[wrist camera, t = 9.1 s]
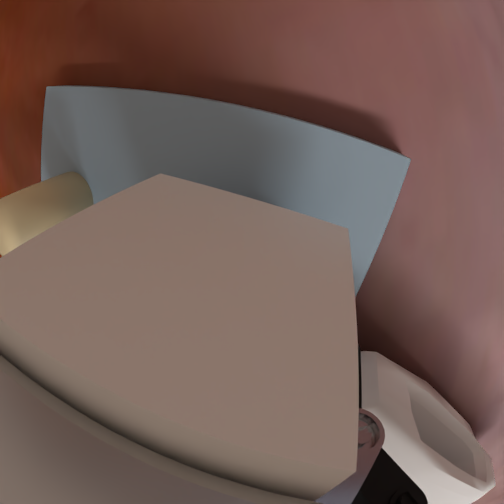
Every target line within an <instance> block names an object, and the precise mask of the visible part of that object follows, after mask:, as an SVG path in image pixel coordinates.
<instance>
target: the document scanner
mask: <svg viewBox="0 0 504 504" xmlns="http://www.w3.org/2000/svg"><path fill="white" fill-rule="evenodd" d="M361 377H362V409H365V410H367V411H369V412H371V413H372V414H374V415H375V416H376V417H377V418H378V419H379V420H380V421H381V423H382V425H383V427H384V430H385V440H384V443H383V446H382V448H383V449H384V450H385V451H386V453H387V454H388V455H389V456H390V457H391V458H392V459H393V460H394V461H395V462H396V463H397V464H398V465H399V467H400V468H401V469H402V470H403V471H404V472H405V473H406V474H407V475H408V476H409V477H410V478H411V479H412V480H413V481H414V482H415V483H416V485H417V486H418V487H419V488H420V489H421V490H422V491H423V493H424V494H425V495H426V498H427V501H428V504H471V503H472V502H474V501H476V500H477V499H479V498H481V497H482V496H483V495H484V494H486V493H487V492H488V491H489V490H491V489H492V488H493V487H494V486H495V485H496V484H495V477H494V470H493V464H492V458H491V457H490V456H489V455H488V454H487V453H486V451H485V450H484V449H483V448H482V447H481V445H480V444H479V442H478V441H477V440H476V438H475V437H474V434H473V432H472V429H471V427H470V424H469V423H468V422H467V421H466V420H465V419H464V418H463V417H462V416H461V415H460V414H459V413H458V412H457V411H456V410H455V409H454V408H453V407H452V406H451V405H450V404H449V403H448V402H447V401H446V400H445V399H444V398H443V397H442V396H441V395H440V394H439V393H438V392H437V391H436V390H435V389H434V388H433V387H432V386H431V385H430V384H429V383H428V382H426V381H425V380H423V379H421V378H420V377H418V376H416V375H415V374H413V373H411V372H409V371H408V370H406V369H404V368H403V367H401V366H399V365H398V364H396V363H394V362H393V361H391V360H389V359H388V358H386V357H384V356H383V355H381V354H379V353H378V352H372V351H361Z"/></svg>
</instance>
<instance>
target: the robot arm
mask: <svg viewBox="0 0 504 504" xmlns="http://www.w3.org/2000/svg"><path fill="white" fill-rule="evenodd" d="M358 369H359V419H358V448H357V466H356V472H355V473H353V474H352V475H351V476H349V477H348V478H347V479H345V480H344V481H343V482H341V483H340V484H339V485H337V486H336V487H334V488H333V489H332V490H330V491H329V492H327V493H326V494H324V495H323V496H321V497H320V498H318V499H317V500H315V501H314V502H313V501H309V500H304V499H299V498H294V497H289V496H285V495H281V494H276V493H272V492H268V491H265V490H261V489H257V488H254V487H250V486H247V485H243V484H240V483H236V482H233V481H230V480H227V479H224V478H220V477H217V476H214V475H212V474H209V473H206V472H203V471H200V470H198V469H195V468H192V467H190V466H187V465H184V464H182V463H179V462H177V461H175V460H172V459H170V458H167V457H165V456H163V455H160V454H158V453H156V452H154V451H152V450H149V449H147V448H145V447H143V446H141V445H139V444H137V443H135V442H133V441H131V440H129V439H127V438H125V437H123V436H121V435H119V434H117V433H115V432H113V431H111V430H109V429H108V428H106V427H104V426H102V425H100V424H99V423H97V422H95V421H94V420H92V419H90V418H88V417H87V416H85V415H83V414H82V413H80V412H78V411H77V410H75V409H74V408H72V407H71V406H69V405H67V404H66V403H64V402H63V401H61V400H60V399H58V398H57V397H55V396H54V395H52V394H51V393H50V392H48V391H47V390H45V389H44V388H42V387H41V386H40V385H38V384H37V383H36V382H34V381H33V380H31V379H30V378H29V377H27V376H26V375H25V374H24V373H22V372H21V371H20V370H18V369H17V368H16V367H15V366H13V365H12V364H11V363H10V362H9V361H7V360H6V359H5V358H4V357H3V356H1V355H0V504H428V501H427V498H426V495H425V494H424V493H423V491H422V490H421V489H420V488H419V487H418V486H417V485H416V483H415V482H414V481H413V480H412V479H411V478H410V477H409V476H408V475H407V474H406V473H405V472H404V471H403V470H402V469H401V468H400V467H399V465H398V464H397V463H396V462H395V461H394V460H393V459H392V458H391V457H390V456H389V455H388V454H387V453H386V451H385V450H384V449H383V448H382V446H383V443H384V440H385V430H384V427H383V425H382V423H381V421H380V420H379V419H378V418H377V417H376V416H375V415H374V414H372V413H371V412H369V411H367V410H365V409H362V377H361V349H360V346H359V345H358Z"/></svg>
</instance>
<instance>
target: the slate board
mask: <svg viewBox="0 0 504 504" xmlns="http://www.w3.org/2000/svg"><path fill="white" fill-rule="evenodd" d="M410 161H411V159H410V158H408V157H406V156H405V155H403V154H401V153H398V152H396V151H393V150H391V149H388V148H385V147H383V146H380V145H377V144H375V143H372V142H369V141H366V140H364V139H361V138H358V137H355V136H352V135H349V134H346V133H343V132H340V131H337V130H334V129H330V128H327V127H324V126H321V125H317V124H314V123H310V122H307V121H303V120H300V119H296V118H292V117H289V116H285V115H281V114H277V113H273V112H269V111H265V110H261V109H256V108H252V107H247V106H243V105H238V104H233V103H228V102H223V101H217V100H212V99H206V98H200V97H194V96H188V95H181V94H174V93H166V92H158V91H150V90H140V89H129V88H116V87H100V86H68V85H65V86H47V88H46V96H45V105H44V115H43V128H42V148H41V182H39V183H37V184H34V185H32V186H29V187H27V188H24V189H22V190H20V191H17V192H15V193H12V194H10V195H8V196H6V197H3V198H1V199H0V254H1V255H2V256H4V255H6V254H7V253H9V252H10V251H12V250H14V249H15V248H17V247H18V246H20V245H22V244H23V243H25V242H27V241H28V240H30V239H32V238H33V237H35V236H37V235H39V234H40V233H42V232H44V231H46V230H47V229H49V228H51V227H53V226H54V225H56V224H58V223H60V222H62V221H63V220H65V219H67V218H69V217H71V216H73V215H75V214H76V213H78V212H80V211H82V210H84V209H86V208H88V207H90V206H92V205H94V204H96V203H98V202H100V201H102V200H104V199H106V198H108V197H110V196H112V195H114V194H116V193H118V192H120V191H122V190H125V189H127V188H129V187H131V186H133V185H135V184H138V183H140V182H142V181H144V180H146V179H149V178H151V177H153V176H155V175H158V174H160V173H161V174H165V175H169V176H173V177H176V178H180V179H184V180H188V181H192V182H195V183H199V184H203V185H206V186H210V187H214V188H217V189H221V190H224V191H228V192H231V193H235V194H238V195H242V196H245V197H249V198H252V199H256V200H259V201H262V202H266V203H269V204H272V205H276V206H279V207H282V208H285V209H289V210H292V211H295V212H298V213H301V214H305V215H308V216H311V217H314V218H317V219H320V220H323V221H326V222H329V223H333V224H336V225H339V226H342V227H345V228H348V231H349V240H350V248H351V258H352V268H353V278H354V290H355V297H356V295H357V293H358V291H359V288H360V286H361V284H362V282H363V280H364V278H365V275H366V273H367V271H368V269H369V267H370V264H371V262H372V260H373V257H374V255H375V253H376V251H377V248H378V246H379V243H380V241H381V239H382V236H383V234H384V231H385V229H386V226H387V224H388V221H389V219H390V216H391V214H392V211H393V209H394V206H395V203H396V201H397V198H398V195H399V192H400V190H401V187H402V184H403V181H404V178H405V176H406V173H407V170H408V167H409V164H410Z"/></svg>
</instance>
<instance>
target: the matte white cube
mask: <svg viewBox="0 0 504 504" xmlns="http://www.w3.org/2000/svg"><path fill="white" fill-rule="evenodd" d="M0 355H1V356H3V357H4V358H5V359H6V360H7V361H9V362H10V363H11V364H12V365H13V366H15V367H16V368H17V369H18V370H20V371H21V372H22V373H24V374H25V375H26V376H27V377H29V378H30V379H31V380H33V381H34V382H36V383H37V384H38V385H40V386H41V387H42V388H44V389H45V390H47V391H48V392H50V393H51V394H52V395H54V396H55V397H57V398H58V399H60V400H61V401H63V402H64V403H66V404H67V405H69V406H71V407H72V408H74V409H75V410H77V411H78V412H80V413H82V414H83V415H85V416H87V417H88V418H90V419H92V420H94V421H95V422H97V423H99V424H100V425H102V426H104V427H106V428H108V429H109V430H111V431H113V432H115V433H117V434H119V435H121V436H123V437H125V438H127V439H129V440H131V441H133V442H135V443H137V444H139V445H141V446H143V447H145V448H147V449H149V450H152V451H154V452H156V453H158V454H160V455H163V456H165V457H167V458H170V459H172V460H175V461H177V462H179V463H182V464H184V465H187V466H190V467H192V468H195V469H198V470H200V471H203V472H206V473H209V474H212V475H214V476H217V477H220V478H224V479H227V480H230V481H233V482H236V483H240V484H243V485H247V486H250V487H254V488H257V489H261V490H265V491H268V492H272V493H276V494H281V495H285V496H289V497H294V498H299V499H304V500H309V501H313V502H314V501H315V500H317V499H318V498H320V497H321V496H323V495H324V494H326V493H327V492H329V491H330V490H332V489H333V488H334V487H336V486H337V485H339V484H340V483H341V482H343V481H344V480H345V479H347V478H348V477H349V476H351V475H352V474H353V473H355V472H356V466H357V448H358V419H359V369H358V338H357V319H356V303H355V290H354V278H353V268H352V258H351V248H350V240H349V231H348V228H345V227H342V226H339V225H336V224H333V223H329V222H326V221H323V220H320V219H317V218H314V217H311V216H308V215H305V214H301V213H298V212H295V211H292V210H289V209H285V208H282V207H279V206H276V205H272V204H269V203H266V202H262V201H259V200H256V199H252V198H249V197H245V196H242V195H238V194H235V193H231V192H228V191H224V190H221V189H217V188H214V187H210V186H206V185H203V184H199V183H195V182H192V181H188V180H184V179H180V178H176V177H173V176H169V175H165V174H161V173H160V174H158V175H155V176H153V177H151V178H149V179H146V180H144V181H142V182H140V183H138V184H135V185H133V186H131V187H129V188H127V189H125V190H122V191H120V192H118V193H116V194H114V195H112V196H110V197H108V198H106V199H104V200H102V201H100V202H98V203H96V204H94V205H92V206H90V207H88V208H86V209H84V210H82V211H80V212H78V213H76V214H75V215H73V216H71V217H69V218H67V219H65V220H63V221H62V222H60V223H58V224H56V225H54V226H53V227H51V228H49V229H47V230H46V231H44V232H42V233H40V234H39V235H37V236H35V237H33V238H32V239H30V240H28V241H27V242H25V243H23V244H22V245H20V246H18V247H17V248H15V249H14V250H12V251H10V252H9V253H7V254H6V255H4V256H3V257H1V258H0Z"/></svg>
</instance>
